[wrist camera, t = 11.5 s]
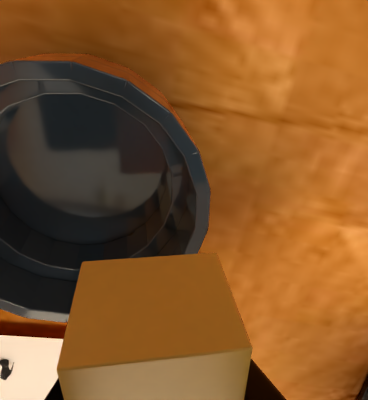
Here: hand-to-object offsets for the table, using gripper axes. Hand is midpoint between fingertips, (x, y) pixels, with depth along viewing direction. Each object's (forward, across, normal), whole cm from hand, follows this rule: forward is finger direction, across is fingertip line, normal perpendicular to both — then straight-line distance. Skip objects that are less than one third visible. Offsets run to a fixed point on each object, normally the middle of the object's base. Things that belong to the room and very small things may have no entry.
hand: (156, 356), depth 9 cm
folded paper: (+11, +11, +14) cm, 21 cm away
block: (+1, 0, 0) cm, 1 cm away
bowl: (+10, +3, -1) cm, 11 cm away
